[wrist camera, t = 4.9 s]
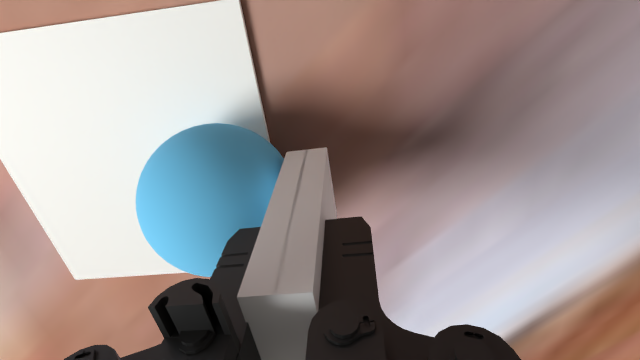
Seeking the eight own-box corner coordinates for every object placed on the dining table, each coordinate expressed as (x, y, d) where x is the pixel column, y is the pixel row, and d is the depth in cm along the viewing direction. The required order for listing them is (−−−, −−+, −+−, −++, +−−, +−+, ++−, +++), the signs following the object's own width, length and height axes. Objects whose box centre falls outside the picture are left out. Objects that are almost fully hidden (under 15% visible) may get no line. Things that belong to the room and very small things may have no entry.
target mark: (-66, 42, 13) (-72, 43, 13) (239, -3, 12) (238, -2, 12) (77, 276, 19) (75, 279, 19) (295, 262, 18) (295, 265, 18)
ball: (264, 83, 10) (104, 108, 11) (265, 276, 9) (84, 283, 10) (308, 144, 16) (196, 157, 17) (313, 272, 14) (190, 277, 15)
